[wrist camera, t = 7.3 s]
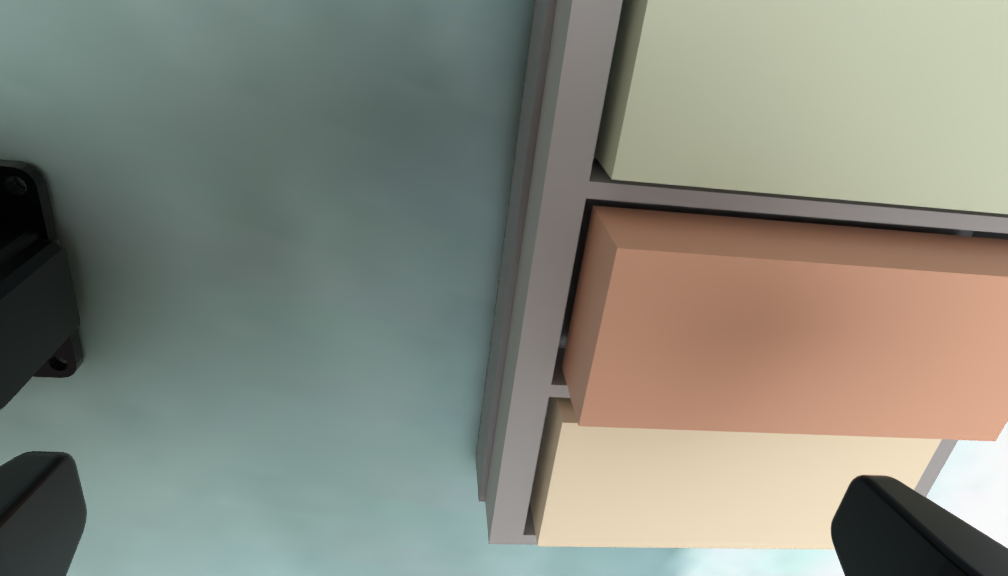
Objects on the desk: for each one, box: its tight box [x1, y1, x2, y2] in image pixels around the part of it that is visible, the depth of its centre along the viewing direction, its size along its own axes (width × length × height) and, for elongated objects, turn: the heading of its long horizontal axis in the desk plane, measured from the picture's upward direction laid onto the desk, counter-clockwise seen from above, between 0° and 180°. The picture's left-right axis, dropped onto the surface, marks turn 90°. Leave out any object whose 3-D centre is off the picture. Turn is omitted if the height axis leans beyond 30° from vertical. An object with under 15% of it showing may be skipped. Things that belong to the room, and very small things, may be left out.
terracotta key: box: [562, 206, 1008, 441], centre depth 16 cm, size 11×5×2 cm, turn 83°
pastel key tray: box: [476, 0, 1008, 544], centre depth 17 cm, size 14×23×4 cm, turn 173°
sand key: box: [530, 397, 942, 549], centre depth 20 cm, size 11×5×2 cm, turn 83°
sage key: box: [594, 0, 1008, 214], centre depth 15 cm, size 11×5×2 cm, turn 83°
